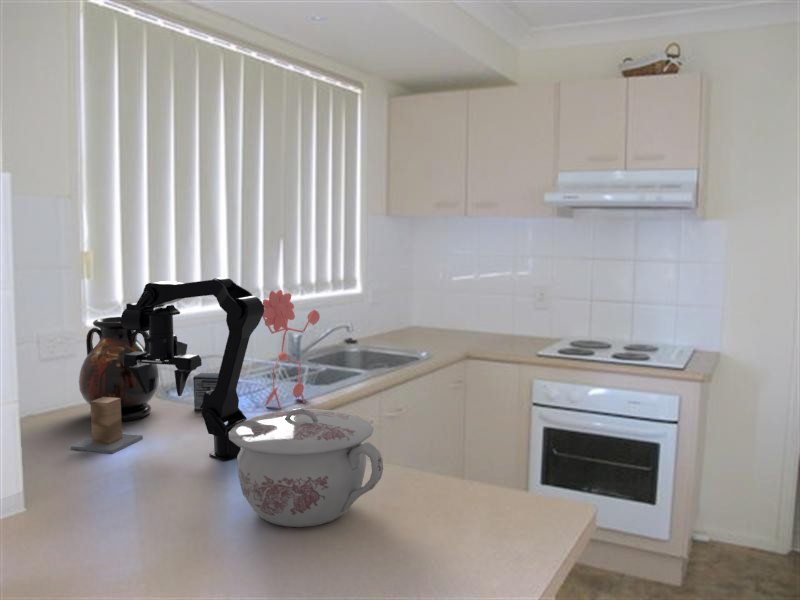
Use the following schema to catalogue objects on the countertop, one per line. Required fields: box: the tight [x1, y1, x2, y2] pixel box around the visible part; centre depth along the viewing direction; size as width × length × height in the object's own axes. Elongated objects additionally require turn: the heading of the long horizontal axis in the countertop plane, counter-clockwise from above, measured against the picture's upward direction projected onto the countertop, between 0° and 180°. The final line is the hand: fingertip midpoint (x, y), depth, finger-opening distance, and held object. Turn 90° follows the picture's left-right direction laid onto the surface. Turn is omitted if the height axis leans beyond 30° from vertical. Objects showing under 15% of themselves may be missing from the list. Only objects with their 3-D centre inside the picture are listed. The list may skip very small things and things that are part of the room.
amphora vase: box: [78, 316, 160, 422], centre depth 202 cm, size 22×22×28 cm
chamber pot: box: [229, 407, 384, 528], centre depth 136 cm, size 28×28×21 cm
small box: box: [192, 372, 219, 412], centre depth 211 cm, size 11×6×10 cm, turn 84°
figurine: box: [262, 289, 321, 409], centre depth 218 cm, size 15×26×35 cm, turn 135°
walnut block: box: [89, 397, 123, 444], centre depth 178 cm, size 5×5×10 cm
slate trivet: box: [70, 433, 144, 454], centre depth 178 cm, size 12×12×1 cm
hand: (163, 394), depth 176 cm, fingers open, 9 cm apart
